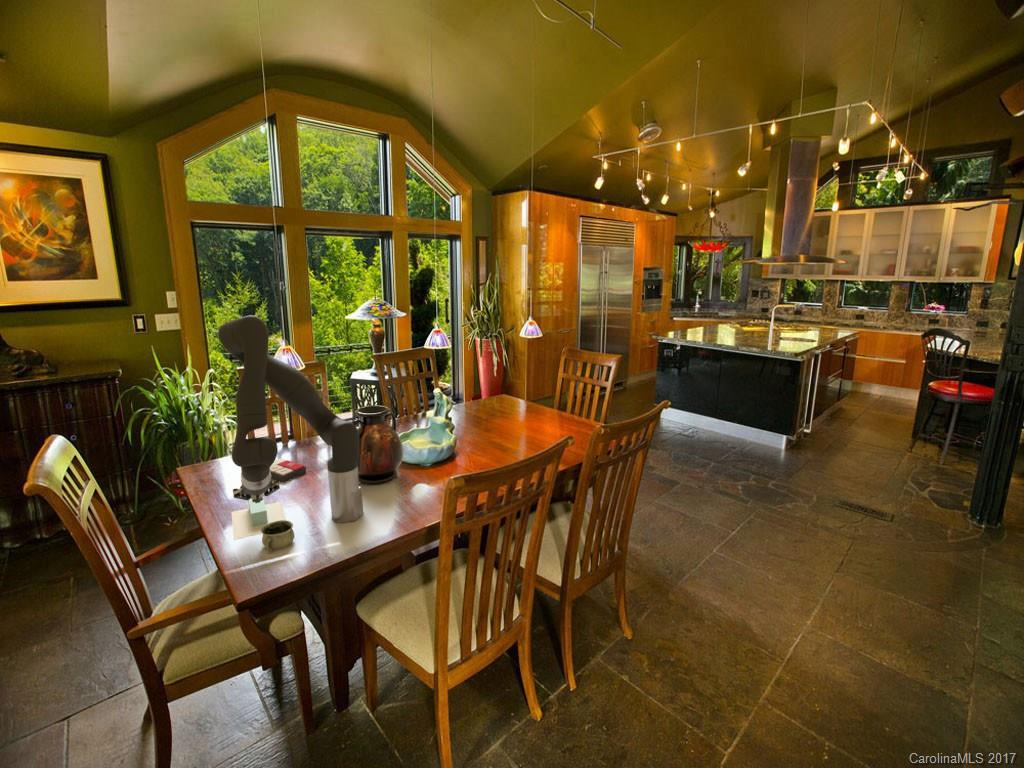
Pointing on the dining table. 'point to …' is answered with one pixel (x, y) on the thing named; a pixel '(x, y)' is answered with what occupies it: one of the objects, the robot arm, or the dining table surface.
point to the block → (258, 513)
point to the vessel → (277, 535)
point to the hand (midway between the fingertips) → (257, 500)
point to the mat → (244, 523)
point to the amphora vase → (377, 446)
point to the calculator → (286, 470)
